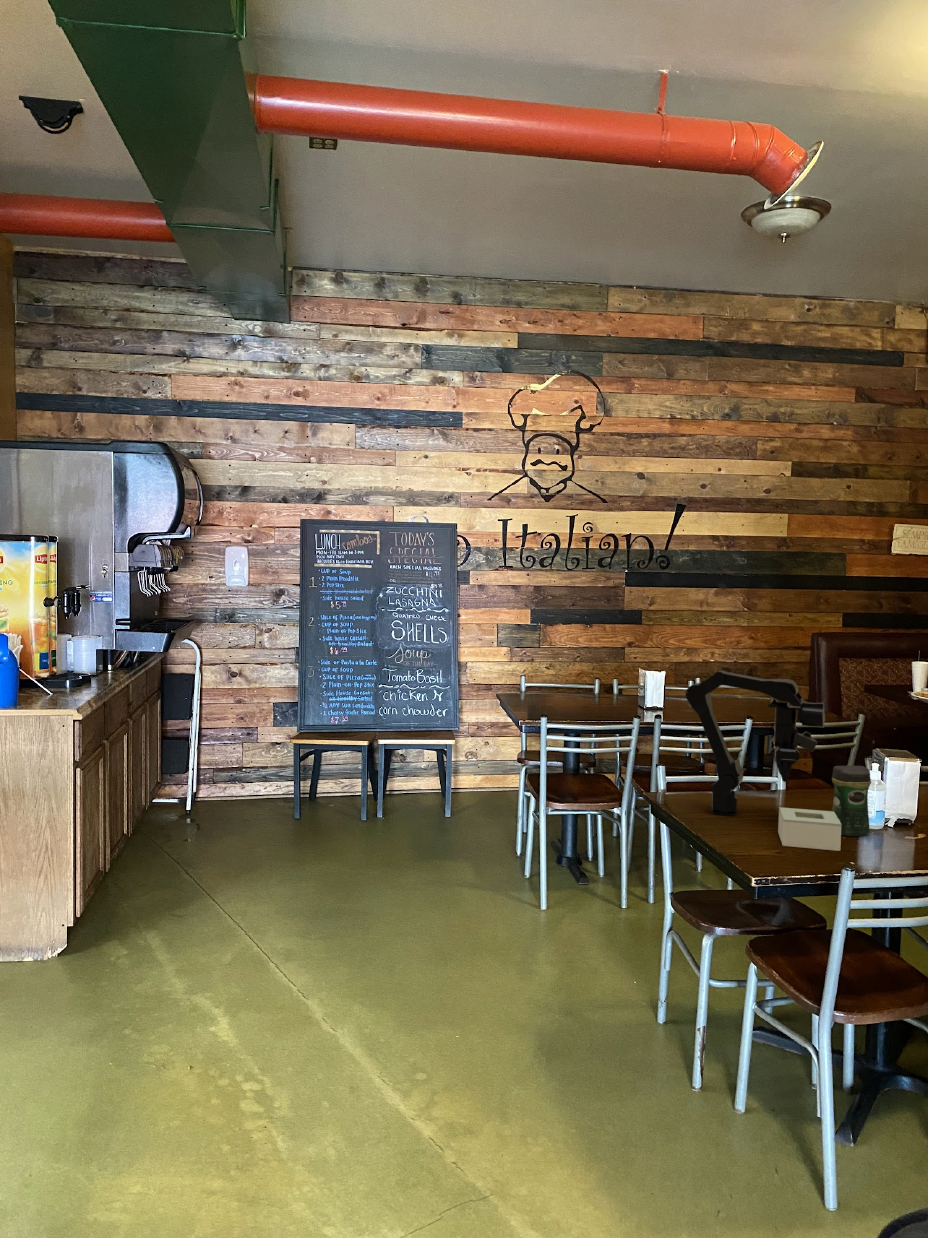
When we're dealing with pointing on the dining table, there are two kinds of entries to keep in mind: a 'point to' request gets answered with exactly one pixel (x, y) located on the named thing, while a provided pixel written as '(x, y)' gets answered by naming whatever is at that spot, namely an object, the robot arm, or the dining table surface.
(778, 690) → the robot arm
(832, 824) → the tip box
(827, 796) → the dining table surface
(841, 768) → the coffee jar
